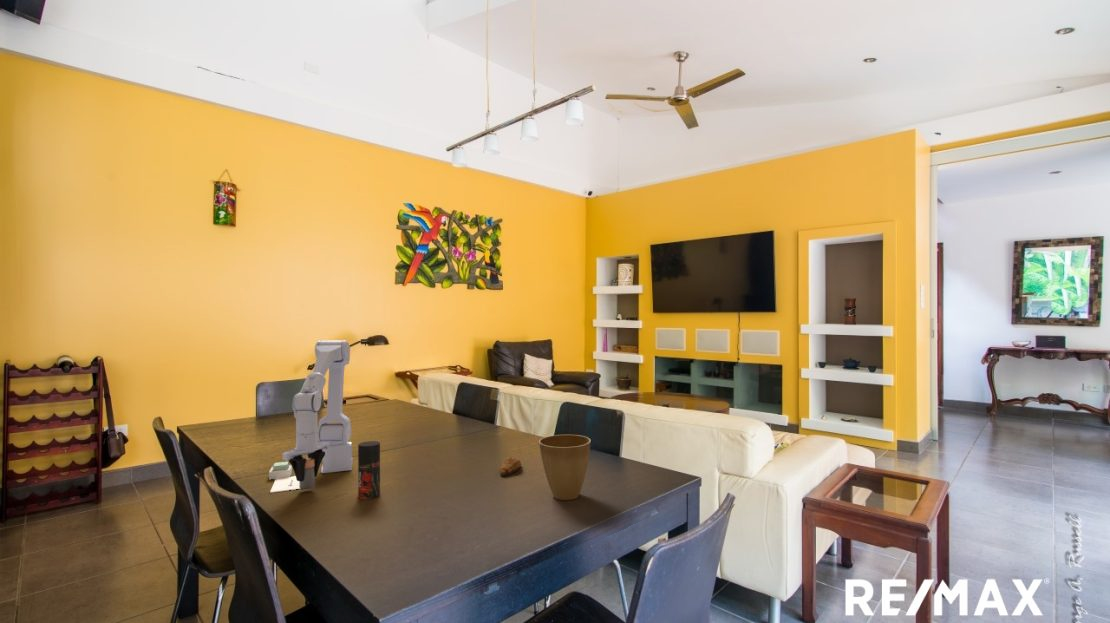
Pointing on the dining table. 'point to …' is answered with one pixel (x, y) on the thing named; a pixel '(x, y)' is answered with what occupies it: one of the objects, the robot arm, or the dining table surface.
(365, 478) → the deodorant
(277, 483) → the paper sheet
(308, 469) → the grey and orange block
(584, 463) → the plant pot
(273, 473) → the button housing
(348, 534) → the dining table surface
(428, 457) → the dining table surface
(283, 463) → the button
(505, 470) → the croissant
